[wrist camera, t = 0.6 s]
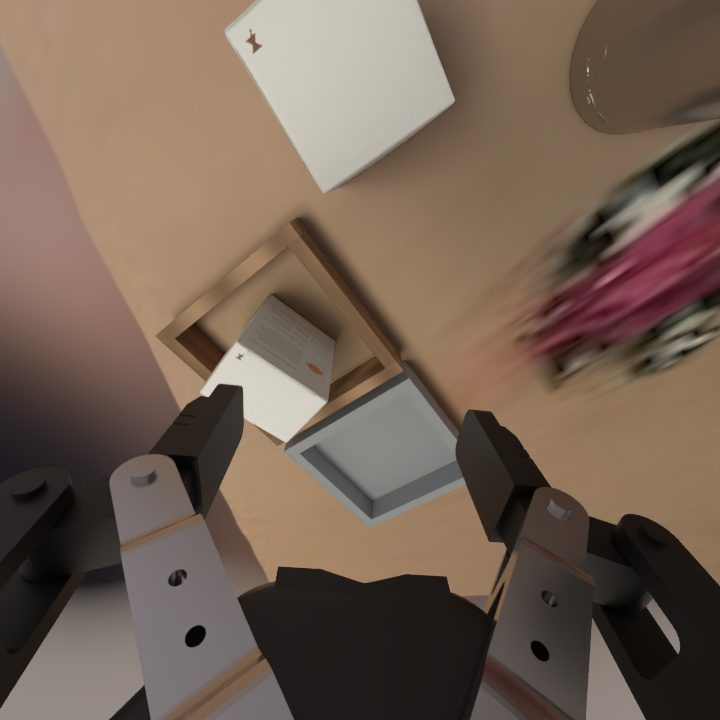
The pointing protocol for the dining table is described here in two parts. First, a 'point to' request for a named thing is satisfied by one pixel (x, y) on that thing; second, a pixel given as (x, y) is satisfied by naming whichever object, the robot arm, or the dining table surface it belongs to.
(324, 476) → the tray
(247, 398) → the small box
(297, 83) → the supplement box
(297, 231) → the frame
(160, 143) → the dining table surface
